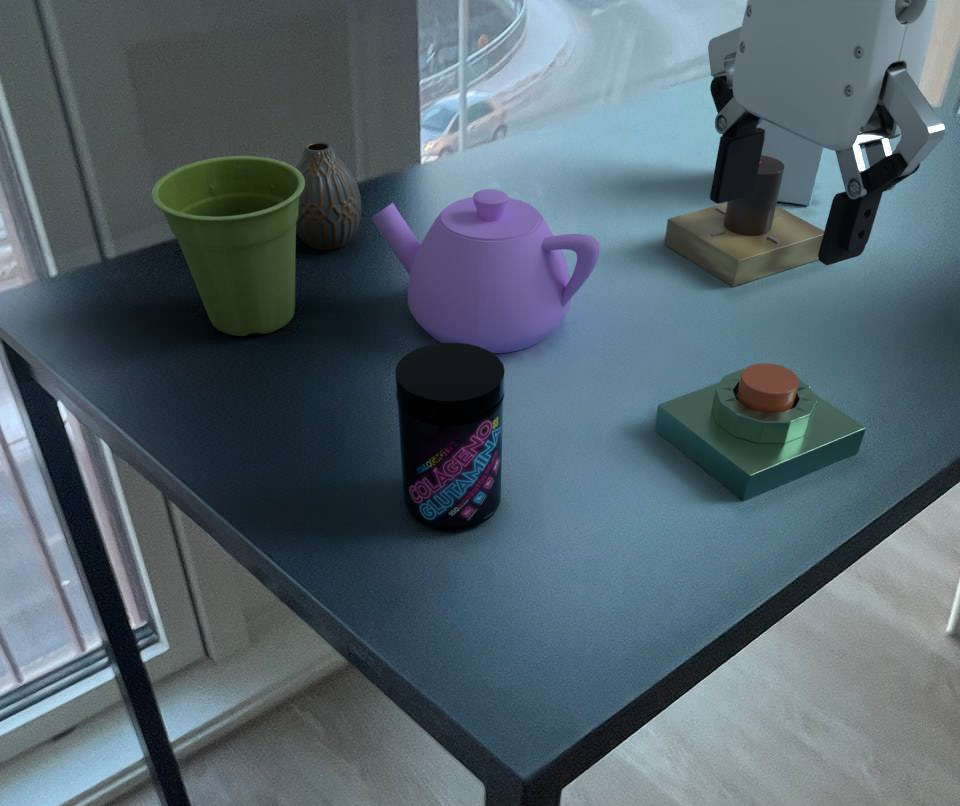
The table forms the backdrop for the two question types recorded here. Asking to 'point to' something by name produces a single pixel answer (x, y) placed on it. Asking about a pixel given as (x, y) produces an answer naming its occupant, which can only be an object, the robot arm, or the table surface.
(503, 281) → the teapot
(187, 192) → the plant pot
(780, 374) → the push button
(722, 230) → the dial panel
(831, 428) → the button housing
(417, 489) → the supplement container
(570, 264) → the table surface
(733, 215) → the dial
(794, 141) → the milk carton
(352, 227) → the vase
